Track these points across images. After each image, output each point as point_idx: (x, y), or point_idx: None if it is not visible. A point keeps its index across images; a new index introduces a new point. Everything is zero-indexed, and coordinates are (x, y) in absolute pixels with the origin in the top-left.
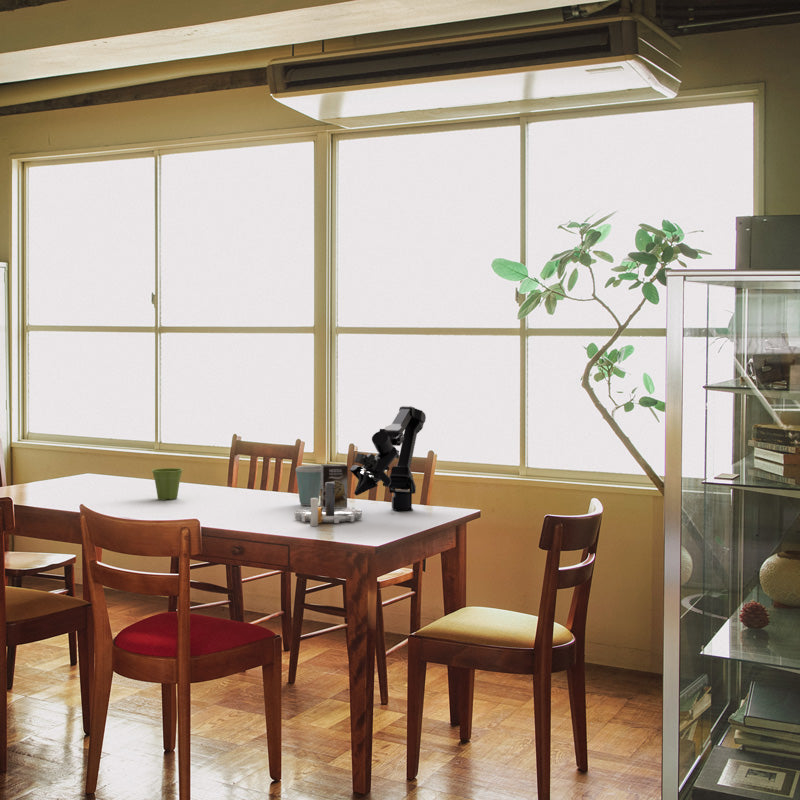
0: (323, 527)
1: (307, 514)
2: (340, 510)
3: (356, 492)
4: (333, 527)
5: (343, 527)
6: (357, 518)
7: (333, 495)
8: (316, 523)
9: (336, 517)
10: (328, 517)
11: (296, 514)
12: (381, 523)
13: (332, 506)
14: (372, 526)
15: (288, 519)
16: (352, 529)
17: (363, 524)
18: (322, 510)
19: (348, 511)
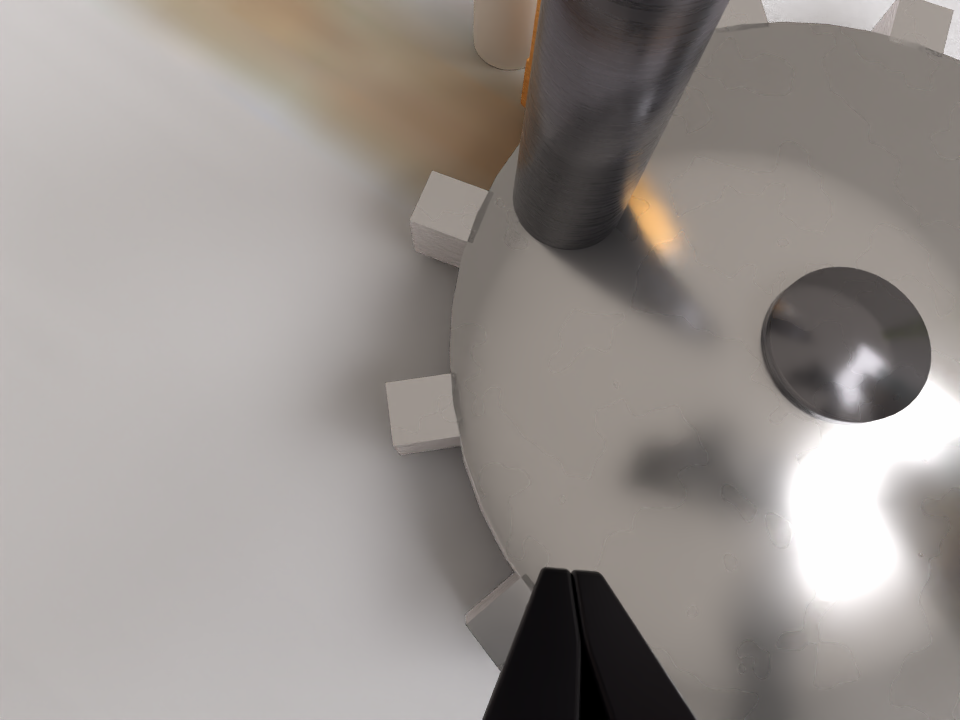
0: (379, 57)
1: (762, 43)
2: (823, 520)
3: (533, 598)
4: (315, 125)
5: (247, 199)
6: (499, 585)
7: (546, 22)
8: (474, 21)
9: (422, 196)
10: (515, 154)
11: (890, 12)
12: (133, 713)
13: (524, 128)
14: (65, 483)
15: (950, 38)
16: (95, 205)
17: (238, 476)
18: (939, 325)
19: (691, 565)
